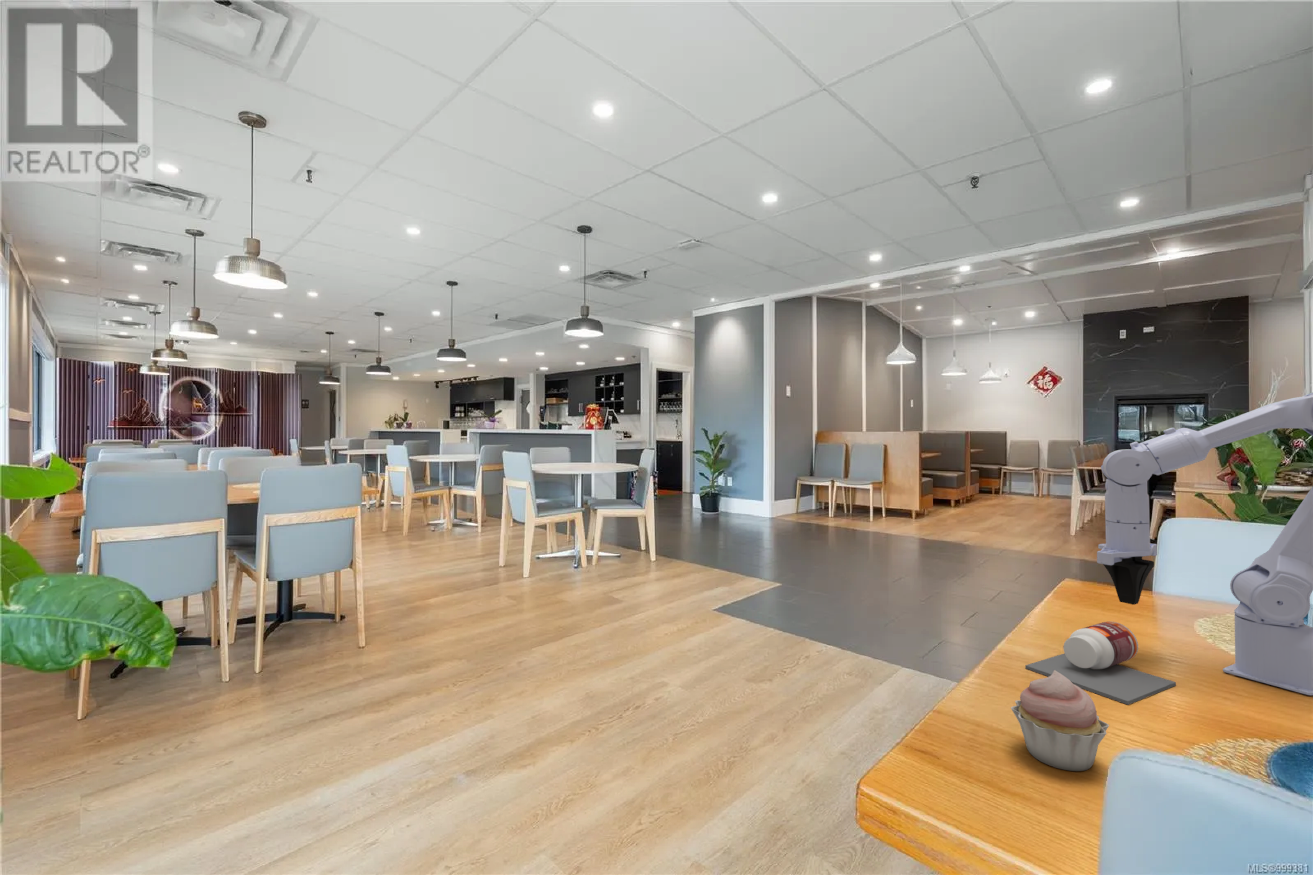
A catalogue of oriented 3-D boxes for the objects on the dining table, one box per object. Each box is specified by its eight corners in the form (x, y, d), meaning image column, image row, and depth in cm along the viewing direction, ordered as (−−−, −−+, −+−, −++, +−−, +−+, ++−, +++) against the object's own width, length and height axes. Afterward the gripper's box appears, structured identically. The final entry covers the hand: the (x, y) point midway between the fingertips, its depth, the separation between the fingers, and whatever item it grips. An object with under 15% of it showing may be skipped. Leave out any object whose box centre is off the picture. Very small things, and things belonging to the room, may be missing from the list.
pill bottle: (1133, 621, 91) (1096, 633, 86) (1145, 661, 90) (1108, 676, 85) (1090, 619, 97) (1053, 630, 92) (1101, 658, 96) (1064, 671, 91)
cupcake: (1067, 734, 72) (1065, 654, 72) (1131, 778, 62) (1129, 687, 62) (994, 737, 72) (993, 657, 71) (1048, 782, 62) (1046, 690, 62)
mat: (1175, 685, 85) (1175, 682, 85) (1128, 704, 79) (1128, 701, 79) (1072, 653, 97) (1072, 650, 97) (1025, 668, 92) (1025, 665, 92)
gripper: (1122, 515, 102) (1123, 591, 102) (1075, 522, 96) (1077, 603, 96) (1171, 520, 96) (1173, 600, 96) (1125, 527, 90) (1127, 614, 90)
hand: (1128, 602), depth 96 cm, fingers closed
